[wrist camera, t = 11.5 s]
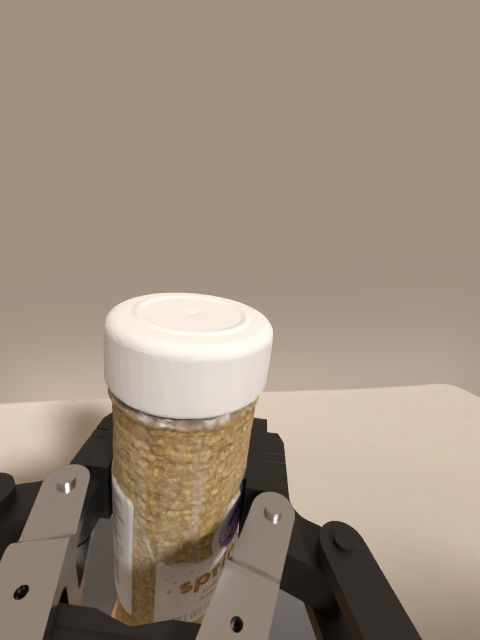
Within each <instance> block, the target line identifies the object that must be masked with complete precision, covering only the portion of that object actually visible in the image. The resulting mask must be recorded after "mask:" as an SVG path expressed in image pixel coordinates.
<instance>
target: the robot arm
mask: <svg viewBox="0 0 480 640" xmlns="http://www.w3.org/2000/svg"><path fill="white" fill-rule="evenodd" d="M112 461H113V412H112V413H111V414H109V415H108V416H106V417H105V418H103V420H102V421H101V422H100V424H99V425H98V426H97V429H95V430H94V432H93V433H92V434H91V437H89V439H88V440H87V441H86V443H85V444H84V445H83V447H82V448H81V449H80V451H79V452H78V453H77V455H76V456H75V457H74V459H73V460H72V461H71V463H70V464H69V465H66V466H63V467H60V468H58V469H56V470H54V471H53V472H51V473H50V474H49V475H48V476H47V477H46V478H45V480H44V481H39V482H33V483H25V484H18V485H15V481H14V478H13V477H12V476H11V475H10V474H7V473H0V640H268V636H269V631H270V627H271V622H272V618H273V614H274V609H275V605H276V600H277V596H278V591H279V589H281V590H283V591H285V592H286V593H288V594H290V595H292V596H294V597H295V598H297V599H299V600H301V601H303V602H304V605H305V608H306V611H307V614H308V617H309V619H310V622H311V625H312V628H313V631H314V634H315V637H316V640H422V639H421V637H420V636H419V634H418V632H417V630H416V629H415V627H414V625H413V624H412V622H411V620H410V618H409V617H408V615H407V613H406V612H405V610H404V608H403V607H402V605H401V603H400V601H399V600H398V598H397V596H396V595H395V593H394V591H393V589H392V588H391V586H390V584H389V583H388V581H387V579H386V577H385V576H384V574H383V572H382V571H381V569H380V567H379V565H378V564H377V562H376V560H375V559H374V557H373V555H372V553H371V552H370V550H369V548H368V547H367V545H366V543H365V542H364V540H363V538H362V537H361V535H360V534H359V533H358V532H357V531H356V530H355V529H354V528H352V527H351V526H349V525H348V524H345V523H343V522H340V521H330V522H328V523H326V524H324V525H323V527H321V526H319V525H316V524H314V523H312V522H310V521H308V520H306V519H304V518H303V517H301V516H300V515H299V514H298V513H297V512H296V511H295V509H294V508H293V506H292V504H291V503H290V500H289V493H288V482H287V472H286V464H285V463H286V461H285V451H284V443H283V441H282V440H281V438H280V436H279V435H278V434H276V433H269V432H267V420H266V419H260V418H254V419H253V424H252V429H251V436H250V441H249V450H248V456H247V464H246V469H245V474H244V480H245V485H244V492H243V498H242V504H241V511H240V517H239V531H238V538H239V540H238V542H237V545H236V547H235V550H234V552H233V555H232V557H229V558H228V560H227V562H226V564H225V567H224V569H223V572H222V574H221V577H220V579H219V582H218V584H217V587H216V589H215V592H214V594H213V597H212V599H211V602H210V604H209V607H208V609H207V612H206V614H205V617H204V620H203V622H202V624H199V623H193V622H186V621H179V620H172V619H171V620H166V621H160V622H154V623H148V624H143V625H137V626H128V625H126V624H124V623H122V622H120V621H118V620H116V619H115V618H113V617H111V616H109V615H107V614H106V613H104V612H102V611H100V610H98V609H97V608H92V607H85V606H81V600H82V593H83V588H84V583H85V578H86V572H87V567H88V562H89V557H90V552H91V547H92V542H93V537H94V528H95V526H96V524H97V522H98V520H99V518H104V519H110V517H111V515H112Z"/></svg>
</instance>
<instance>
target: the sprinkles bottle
mask: <svg viewBox="0 0 480 640" xmlns="http://www.w3.org/2000/svg"><path fill="white" fill-rule="evenodd" d="M272 340H273V330H272V327H271V325H270V323H269V321H268V320H267V319H266V317H264V316H263V315H262V314H261V313H260V312H258V311H256V310H255V309H253V308H251V307H249V306H246V305H245V304H242V303H239V302H236V301H233V300H229V299H225V298H221V297H215V296H210V295H203V294H193V293H159V294H150V295H144V296H139V297H135V298H132V299H129V300H127V301H124V302H123V303H120V304H119V305H117V306H115V307H114V308H113V309H112V310H111V311H110V312H109V314H108V315H107V317H106V319H105V323H104V377H105V382H106V384H107V385H108V394H109V397H110V399H111V401H112V411H113V461H112V514H113V542H114V572H115V585H116V591H117V598H118V605H117V609H116V616H115V619H116V620H118V621H120V622H122V623H124V624H126V625H128V626H137V625H143V624H148V623H154V622H160V621H166V620H171V619H172V620H179V621H186V622H193V623H199V624H202V622H203V620H204V617H205V614H206V612H207V609H208V607H209V604H210V602H211V599H212V597H213V594H214V592H215V589H216V587H217V584H218V582H219V579H220V577H221V574H222V572H223V569H224V567H225V564H226V562H227V560H228V558H229V557H232V555H233V552H234V550H235V544H236V538H237V531H238V524H239V517H240V511H241V504H242V498H243V492H244V485H245V480H244V474H245V469H246V464H247V456H248V450H249V441H250V436H251V429H252V424H253V419H254V411H255V404H256V403H257V401H258V398H259V395H260V394H261V392H262V391H263V389H264V387H265V383H266V378H267V373H268V367H269V362H270V355H271V348H272Z"/></svg>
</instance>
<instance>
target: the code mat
mask: <svg viewBox="0 0 480 640" xmlns="http://www.w3.org/2000/svg"><path fill="white" fill-rule="evenodd" d="M238 540H239V538H238V534H237V538H236V544H235V547H236V545H237V542H238ZM117 605H118V598H117V591H116V585H115V572H114V542H113V516H111V517H110V519H104V518H99V520H98V522H97V524H96V526H95V528H94V537H93V542H92V547H91V552H90V557H89V562H88V567H87V572H86V578H85V583H84V588H83V593H82V600H81V606H85V607H92V608H97V609H98V610H100V611H102V612H104V613H106V614H107V615H109V616H111V617H113V618H115V616H116V609H117ZM268 640H316V637H315V634H314V631H313V628H312V625H311V622H310V619H309V617H308V614H307V611H306V608H305V605H304V602H303V601H301V600H299V599H297V598H295V597H294V596H292V595H290V594H288V593H286V592H285V591H283V590H281V589H279V591H278V596H277V600H276V605H275V609H274V614H273V618H272V622H271V627H270V631H269V636H268Z"/></svg>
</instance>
